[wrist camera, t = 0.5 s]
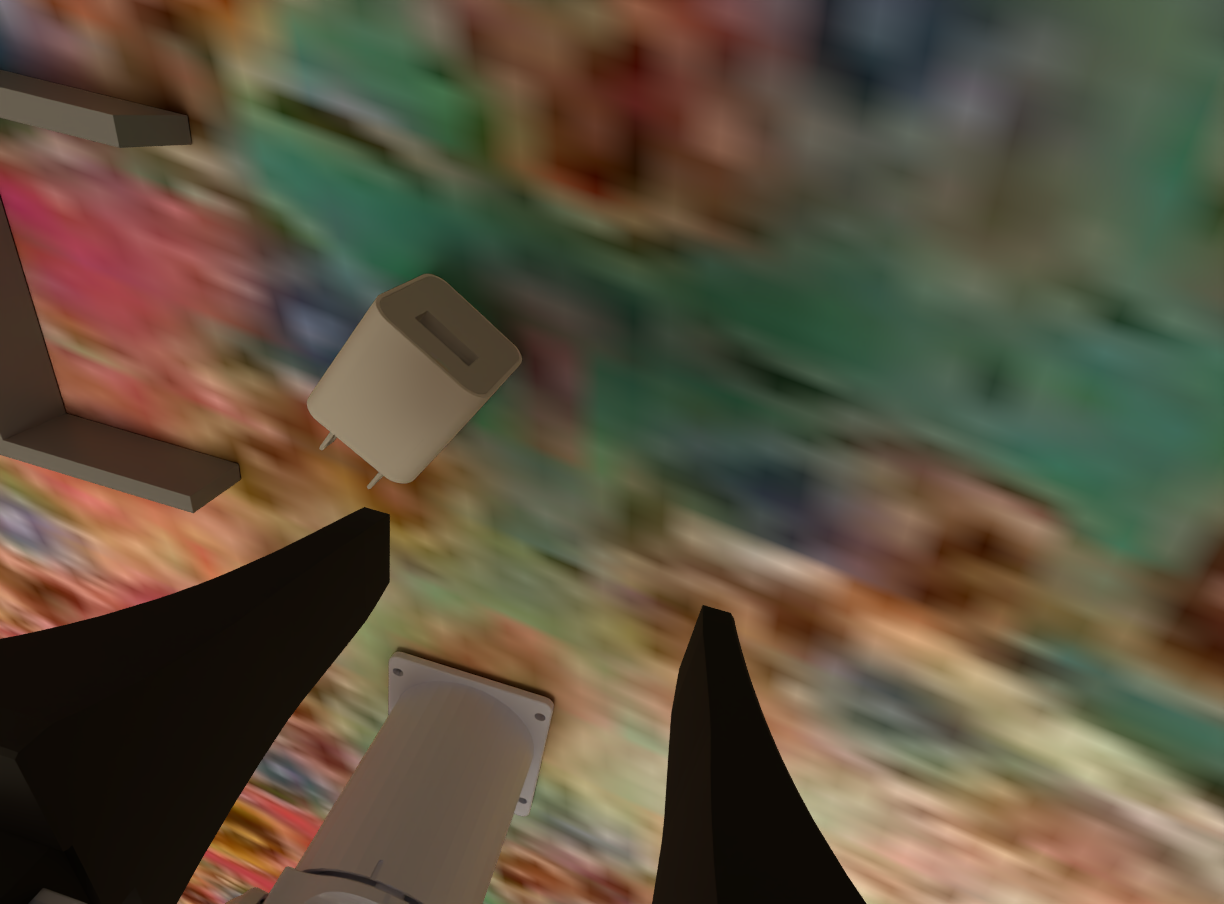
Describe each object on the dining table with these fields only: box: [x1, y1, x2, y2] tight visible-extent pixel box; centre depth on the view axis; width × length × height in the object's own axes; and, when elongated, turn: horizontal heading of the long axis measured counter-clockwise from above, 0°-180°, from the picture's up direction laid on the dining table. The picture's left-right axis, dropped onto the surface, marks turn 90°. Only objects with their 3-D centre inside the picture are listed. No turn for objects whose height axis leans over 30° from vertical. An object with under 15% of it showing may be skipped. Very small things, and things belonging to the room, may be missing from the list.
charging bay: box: [0, 70, 241, 513], centre depth 21 cm, size 14×9×2 cm, turn 169°
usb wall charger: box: [307, 274, 522, 489], centre depth 20 cm, size 4×7×4 cm, turn 137°
